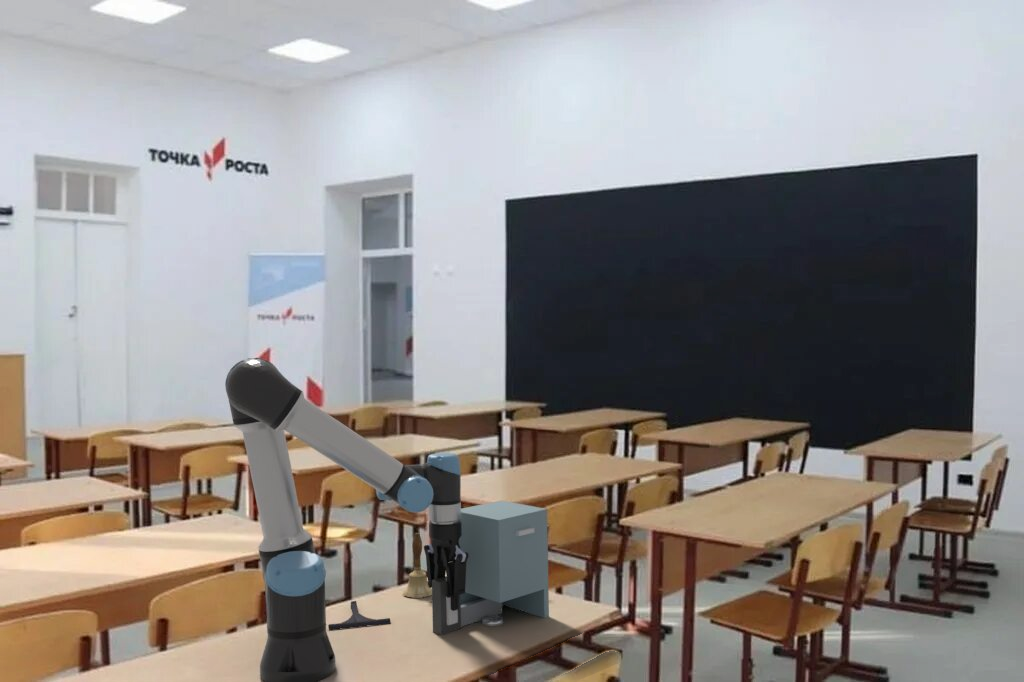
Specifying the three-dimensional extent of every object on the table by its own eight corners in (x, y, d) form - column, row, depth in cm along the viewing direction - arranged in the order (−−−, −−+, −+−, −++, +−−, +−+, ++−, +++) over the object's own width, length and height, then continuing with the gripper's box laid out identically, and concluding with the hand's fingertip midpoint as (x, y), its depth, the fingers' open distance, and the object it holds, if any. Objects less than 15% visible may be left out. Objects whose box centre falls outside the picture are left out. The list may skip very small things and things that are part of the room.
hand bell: (398, 591, 240) (397, 532, 239) (428, 587, 243) (427, 528, 243) (407, 600, 232) (406, 538, 232) (438, 595, 235) (437, 535, 235)
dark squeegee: (381, 607, 229) (381, 596, 229) (390, 626, 214) (390, 614, 214) (324, 614, 225) (323, 603, 225) (329, 633, 210) (328, 621, 210)
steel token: (492, 628, 210) (492, 623, 210) (477, 623, 214) (477, 618, 214) (507, 623, 214) (507, 618, 214) (492, 618, 217) (492, 613, 217)
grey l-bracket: (441, 635, 206) (440, 582, 205) (432, 632, 208) (431, 580, 207) (504, 614, 220) (503, 565, 219) (495, 611, 222) (494, 562, 222)
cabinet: (503, 634, 205) (501, 520, 205) (455, 617, 218) (453, 510, 217) (552, 617, 216) (550, 509, 216) (503, 602, 229) (501, 500, 228)
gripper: (480, 523, 205) (482, 625, 206) (435, 513, 217) (437, 610, 217) (455, 528, 200) (457, 634, 200) (410, 518, 211) (412, 617, 212)
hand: (447, 621), depth 209 cm, fingers closed on grey l-bracket, 3 cm apart
